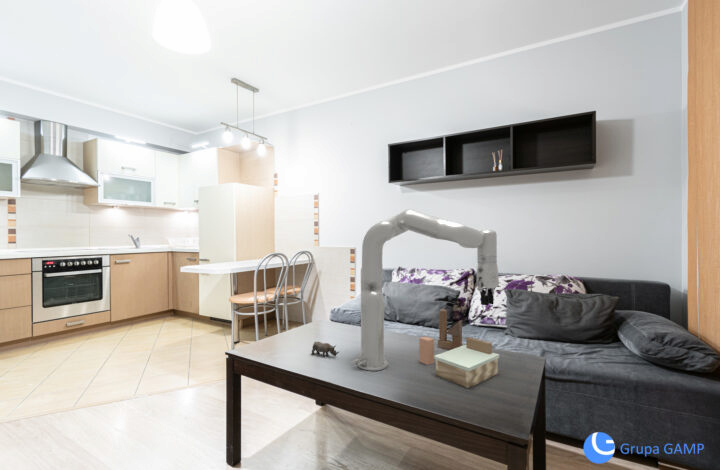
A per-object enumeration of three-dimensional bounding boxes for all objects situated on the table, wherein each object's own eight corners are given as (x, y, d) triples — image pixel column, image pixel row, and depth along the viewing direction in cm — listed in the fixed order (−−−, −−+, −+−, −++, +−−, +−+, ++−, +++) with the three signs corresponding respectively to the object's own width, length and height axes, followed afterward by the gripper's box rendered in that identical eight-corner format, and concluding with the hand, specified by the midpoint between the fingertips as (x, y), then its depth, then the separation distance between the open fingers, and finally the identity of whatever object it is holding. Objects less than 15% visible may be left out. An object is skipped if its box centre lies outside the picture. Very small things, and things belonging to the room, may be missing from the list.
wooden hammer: (459, 352, 150) (459, 313, 150) (437, 347, 157) (437, 310, 157) (462, 350, 153) (462, 311, 153) (441, 345, 160) (440, 308, 160)
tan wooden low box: (468, 388, 113) (468, 371, 114) (435, 375, 124) (435, 359, 124) (497, 373, 126) (497, 358, 126) (465, 363, 137) (465, 348, 137)
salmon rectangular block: (427, 364, 135) (427, 340, 135) (419, 361, 138) (419, 338, 139) (433, 362, 137) (433, 338, 138) (425, 359, 141) (425, 336, 141)
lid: (468, 371, 113) (468, 356, 113) (433, 359, 125) (433, 345, 125) (499, 357, 126) (499, 344, 126) (465, 347, 138) (465, 335, 138)
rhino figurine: (336, 360, 140) (336, 346, 140) (309, 355, 146) (309, 341, 147) (341, 357, 144) (341, 343, 144) (315, 352, 150) (315, 339, 150)
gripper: (484, 261, 127) (485, 308, 127) (505, 259, 138) (505, 303, 137) (467, 260, 133) (468, 305, 133) (488, 258, 143) (489, 300, 143)
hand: (487, 304), depth 135 cm, fingers open, 3 cm apart
